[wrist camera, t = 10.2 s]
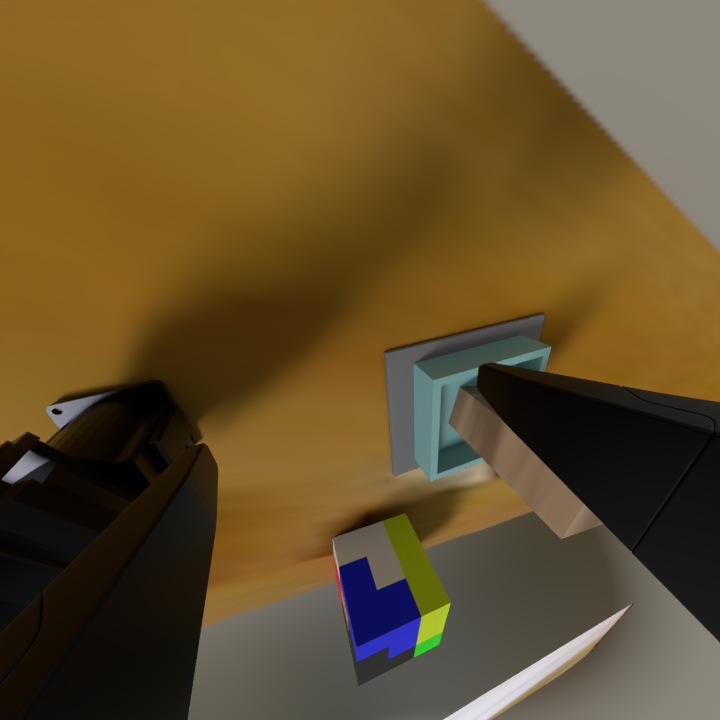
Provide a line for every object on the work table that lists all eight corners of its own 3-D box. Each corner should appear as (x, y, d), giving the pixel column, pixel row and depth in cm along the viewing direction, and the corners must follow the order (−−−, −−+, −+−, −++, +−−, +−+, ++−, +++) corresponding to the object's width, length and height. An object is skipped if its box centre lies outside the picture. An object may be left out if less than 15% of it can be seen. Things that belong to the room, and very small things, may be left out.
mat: (392, 473, 30) (394, 476, 30) (384, 351, 23) (385, 353, 23) (515, 428, 35) (518, 430, 34) (541, 313, 27) (545, 314, 27)
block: (448, 423, 28) (561, 539, 17) (459, 386, 26) (593, 490, 16) (480, 419, 29) (603, 523, 19) (493, 384, 28) (637, 478, 17)
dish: (414, 458, 30) (430, 482, 27) (413, 363, 24) (433, 380, 21) (503, 426, 33) (525, 444, 30) (521, 334, 27) (551, 346, 24)
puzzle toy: (332, 537, 32) (356, 647, 23) (405, 512, 35) (450, 602, 26) (336, 580, 36) (358, 686, 28) (401, 554, 39) (438, 644, 31)
